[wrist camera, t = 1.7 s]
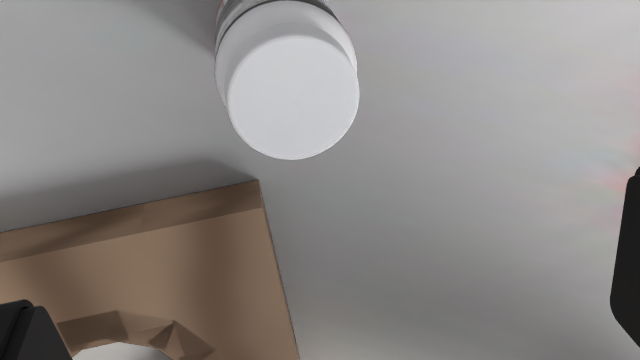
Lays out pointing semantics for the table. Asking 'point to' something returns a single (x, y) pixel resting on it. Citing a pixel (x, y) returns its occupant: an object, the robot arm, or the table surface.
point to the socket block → (159, 277)
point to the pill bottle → (285, 75)
